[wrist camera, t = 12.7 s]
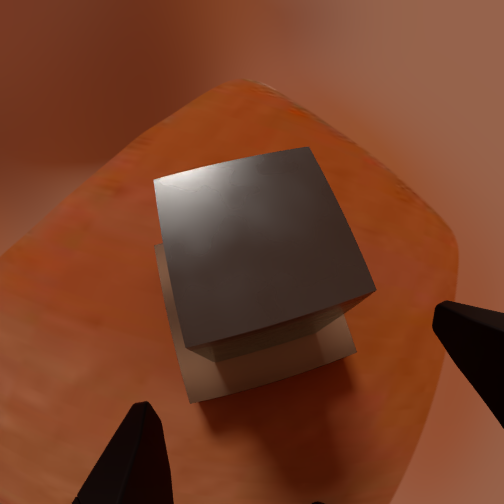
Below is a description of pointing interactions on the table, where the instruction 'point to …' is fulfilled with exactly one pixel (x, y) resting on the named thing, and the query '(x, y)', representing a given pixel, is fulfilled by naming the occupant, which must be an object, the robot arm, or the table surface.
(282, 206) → the tea tin
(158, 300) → the table surface
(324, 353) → the walnut block
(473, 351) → the robot arm
